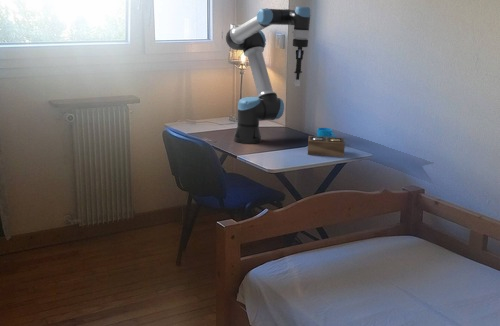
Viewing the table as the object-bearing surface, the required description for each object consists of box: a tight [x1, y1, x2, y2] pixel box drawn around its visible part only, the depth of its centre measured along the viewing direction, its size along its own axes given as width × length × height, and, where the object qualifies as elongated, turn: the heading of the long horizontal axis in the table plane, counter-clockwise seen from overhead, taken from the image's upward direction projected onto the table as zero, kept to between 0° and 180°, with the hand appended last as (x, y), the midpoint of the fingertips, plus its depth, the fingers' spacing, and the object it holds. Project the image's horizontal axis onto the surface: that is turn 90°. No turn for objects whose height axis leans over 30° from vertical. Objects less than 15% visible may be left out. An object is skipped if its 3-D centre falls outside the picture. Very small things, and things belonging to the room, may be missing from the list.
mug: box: [316, 127, 337, 138], centre depth 309 cm, size 12×8×8 cm
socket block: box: [307, 135, 346, 158], centre depth 290 cm, size 12×18×7 cm, turn 84°
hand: (297, 85), depth 290 cm, fingers closed
